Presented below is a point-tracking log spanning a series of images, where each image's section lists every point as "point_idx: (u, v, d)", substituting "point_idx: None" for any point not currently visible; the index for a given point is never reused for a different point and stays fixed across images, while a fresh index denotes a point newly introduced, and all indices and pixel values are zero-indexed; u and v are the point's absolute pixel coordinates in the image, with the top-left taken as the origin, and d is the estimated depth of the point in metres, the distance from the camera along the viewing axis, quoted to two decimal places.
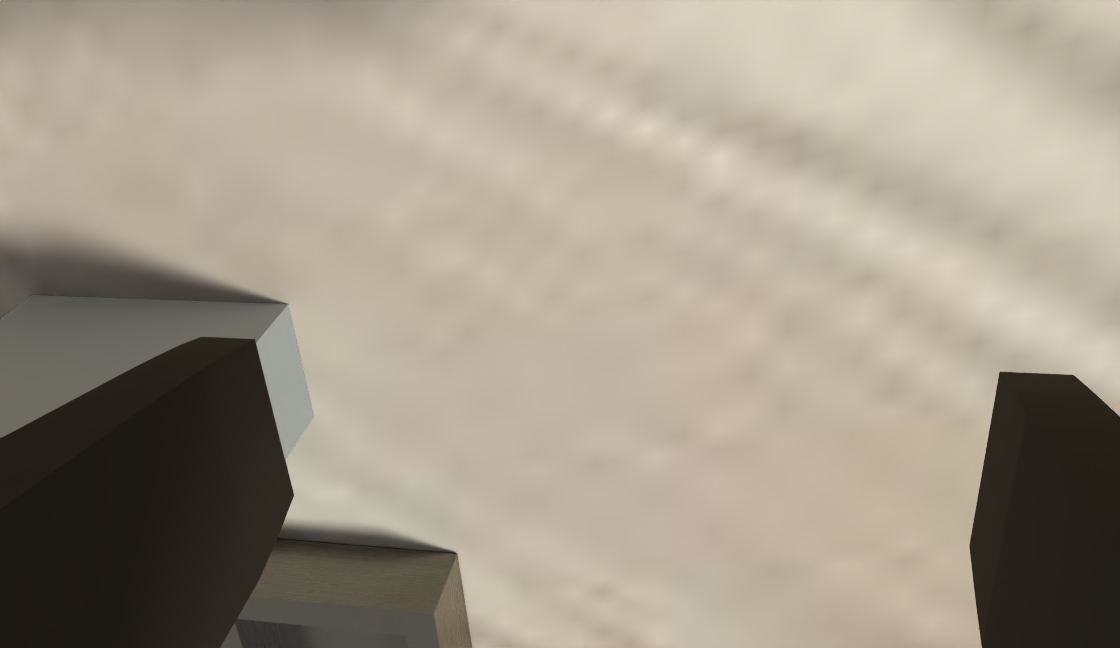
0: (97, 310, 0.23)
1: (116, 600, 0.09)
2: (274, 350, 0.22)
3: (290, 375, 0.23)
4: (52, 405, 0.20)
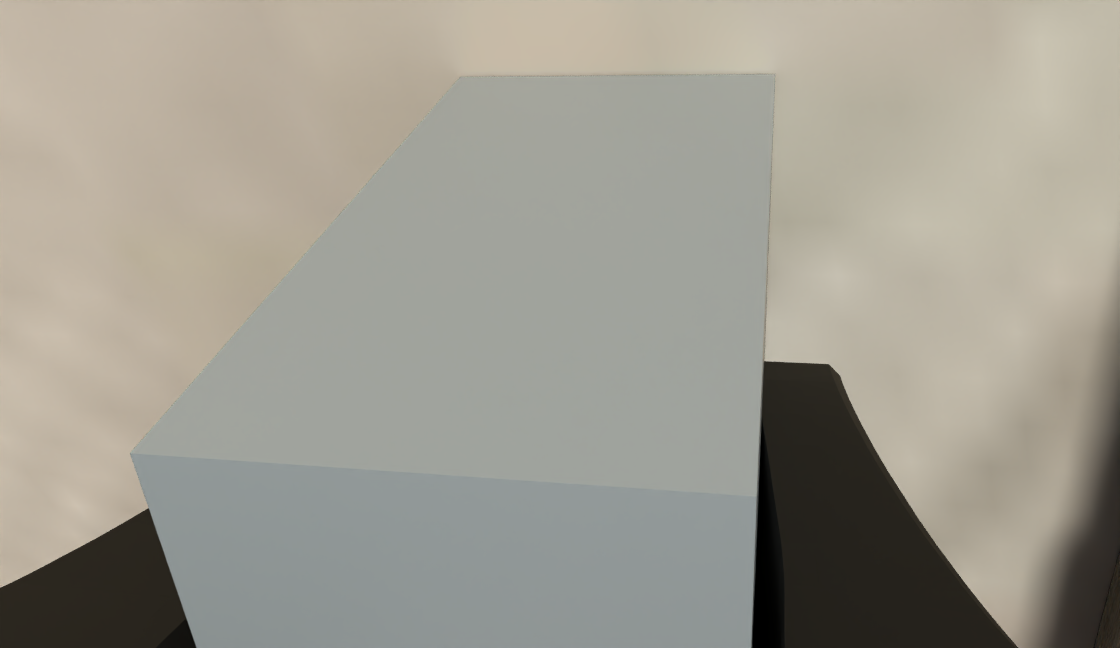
0: None
1: None
2: (491, 113, 0.09)
3: (598, 97, 0.09)
4: None
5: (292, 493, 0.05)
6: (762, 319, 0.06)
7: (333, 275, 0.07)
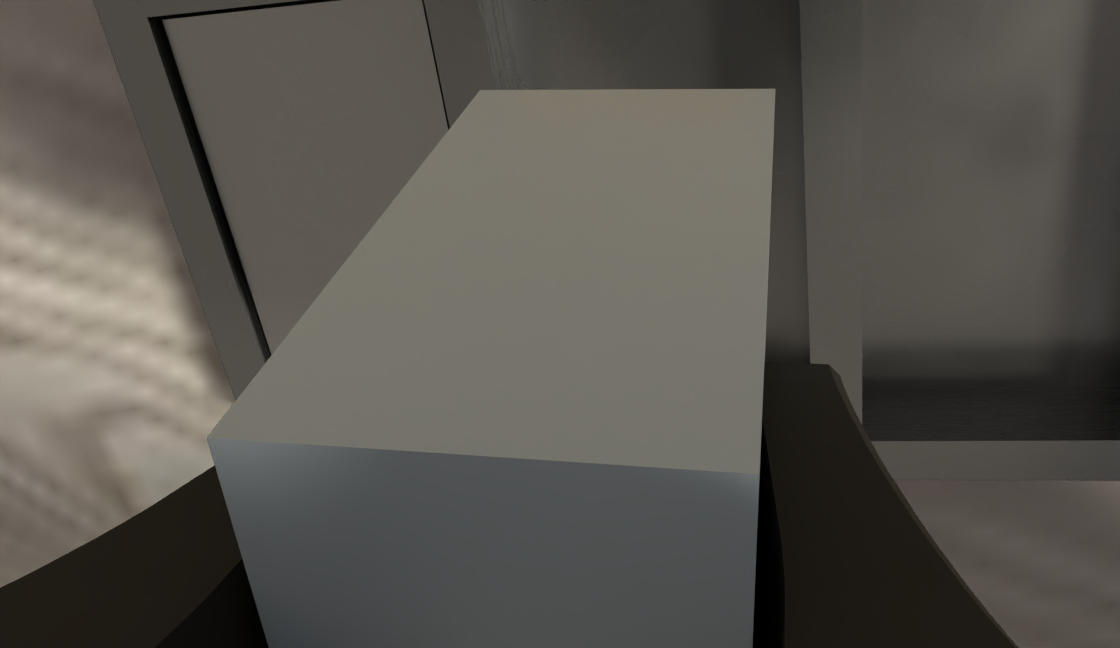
0: None
1: None
2: (511, 125, 0.10)
3: (611, 111, 0.10)
4: None
5: (352, 470, 0.06)
6: (764, 319, 0.06)
7: (374, 278, 0.07)
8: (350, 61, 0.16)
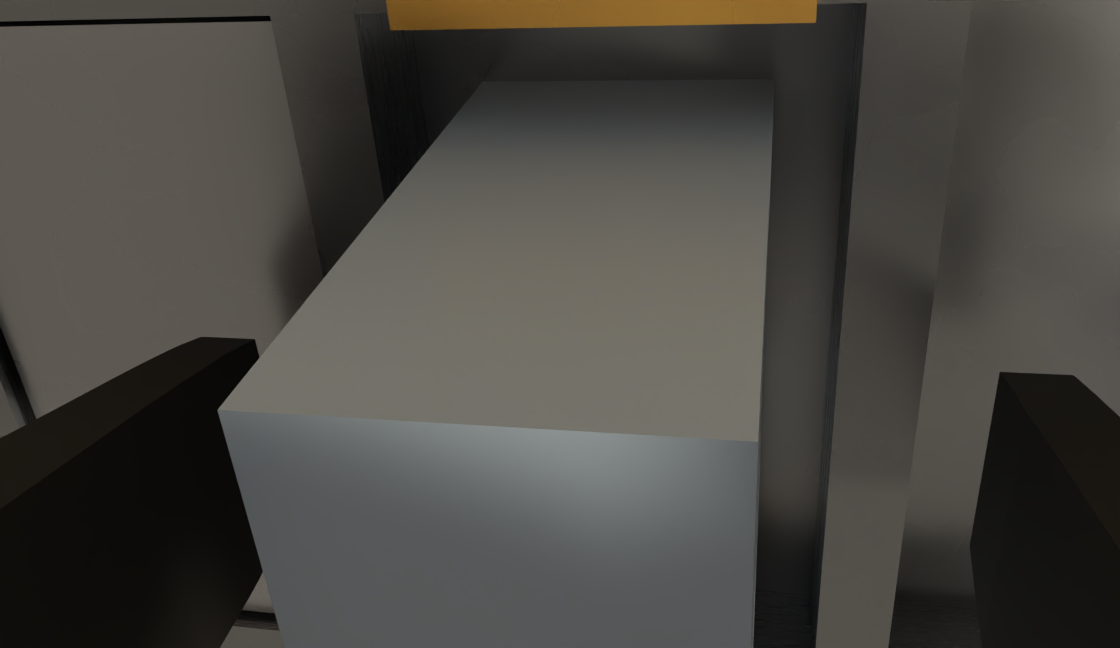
0: None
1: (116, 600, 0.09)
2: (513, 115, 0.10)
3: (612, 100, 0.10)
4: None
5: (360, 444, 0.06)
6: (763, 297, 0.07)
7: (380, 259, 0.07)
8: (167, 115, 0.10)
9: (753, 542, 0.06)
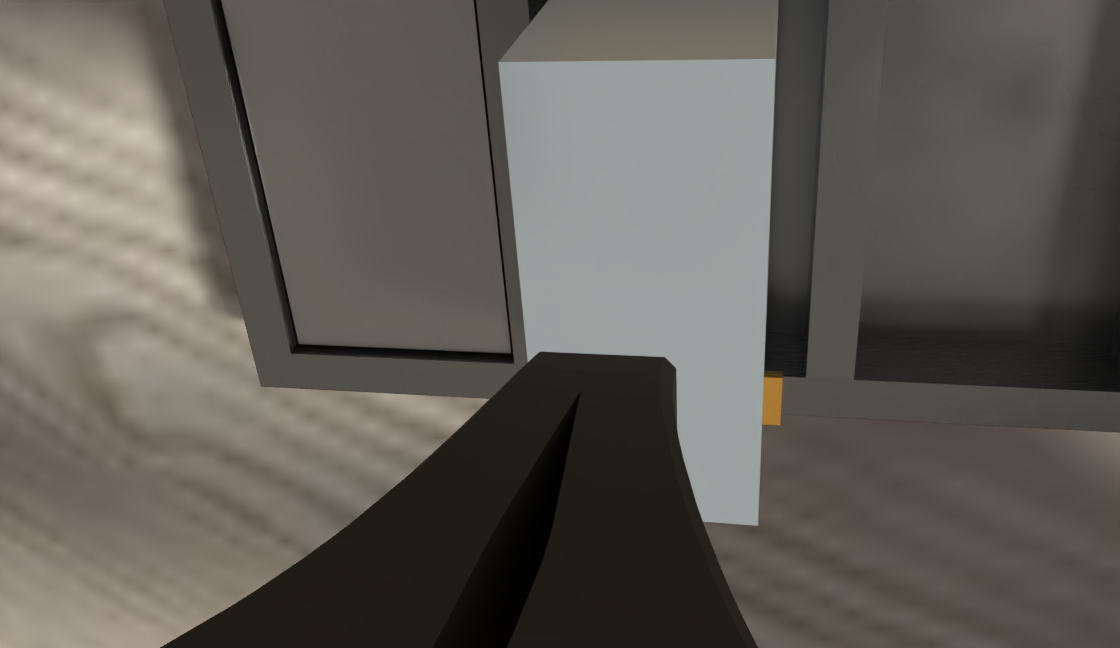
0: None
1: None
2: None
3: None
4: None
5: (572, 77, 0.11)
6: (776, 22, 0.12)
7: (557, 17, 0.13)
8: None
9: (772, 119, 0.11)
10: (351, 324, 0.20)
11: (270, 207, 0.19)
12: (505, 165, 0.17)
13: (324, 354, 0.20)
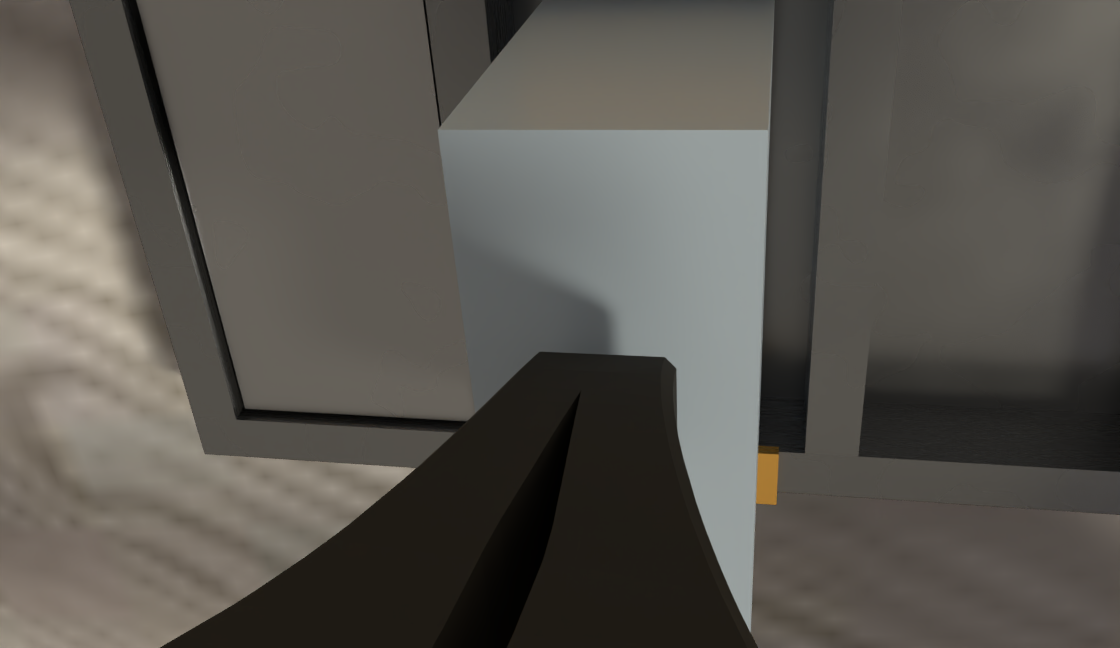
0: None
1: None
2: None
3: None
4: None
5: (526, 147, 0.10)
6: (769, 77, 0.10)
7: (515, 68, 0.11)
8: (329, 2, 0.14)
9: (765, 200, 0.09)
10: (302, 388, 0.18)
11: (208, 262, 0.17)
12: None
13: (272, 420, 0.18)
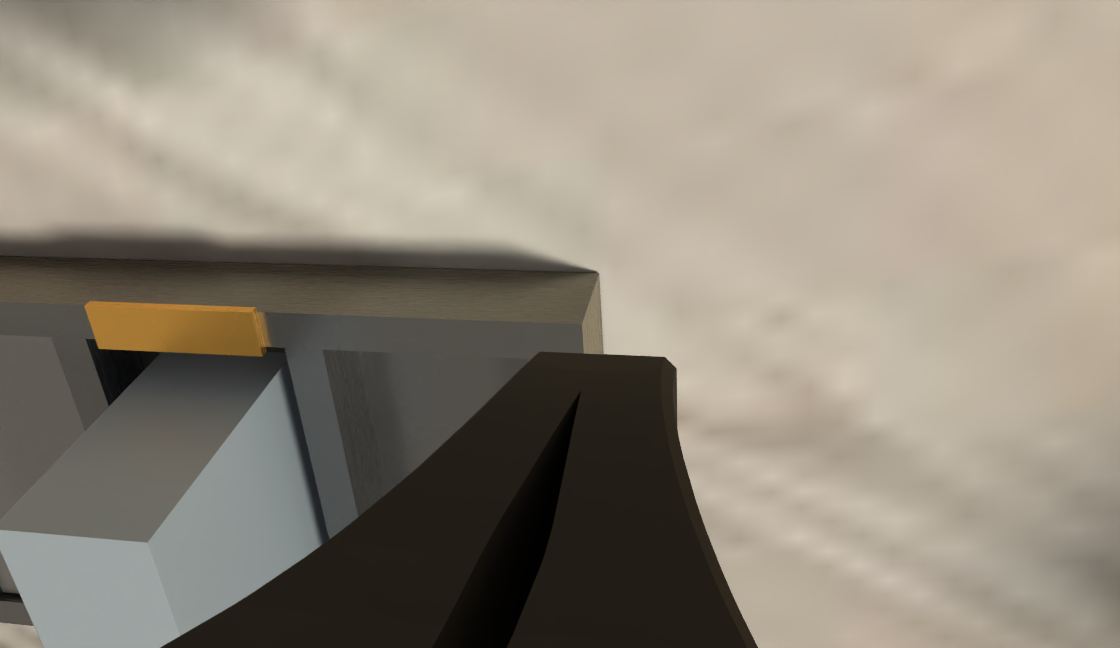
0: None
1: None
2: (165, 374, 0.22)
3: (213, 365, 0.22)
4: None
5: (35, 540, 0.18)
6: (191, 484, 0.19)
7: (70, 462, 0.20)
8: (12, 369, 0.22)
9: (156, 572, 0.18)
10: None
11: None
12: None
13: (19, 602, 0.26)
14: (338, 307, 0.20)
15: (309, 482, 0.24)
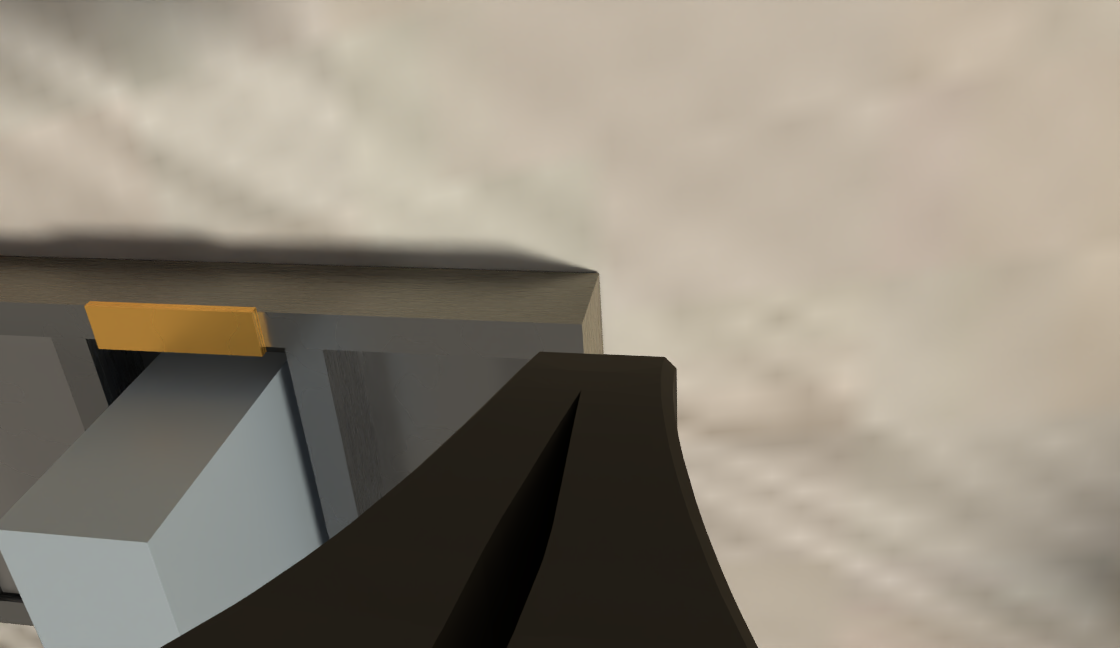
0: None
1: None
2: (165, 374, 0.22)
3: (213, 365, 0.22)
4: None
5: (35, 540, 0.18)
6: (191, 484, 0.19)
7: (70, 462, 0.20)
8: (12, 369, 0.22)
9: (156, 572, 0.18)
10: None
11: None
12: None
13: (19, 602, 0.26)
14: (338, 307, 0.20)
15: (309, 482, 0.24)
